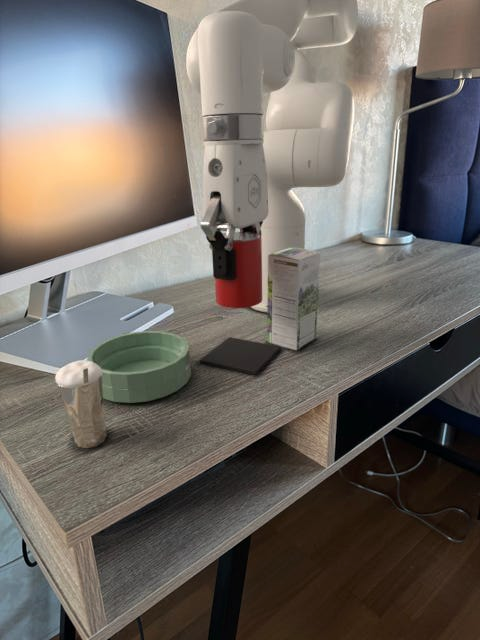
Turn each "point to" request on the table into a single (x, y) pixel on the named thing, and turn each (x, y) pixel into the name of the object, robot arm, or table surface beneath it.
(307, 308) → the syrup box
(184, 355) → the dish
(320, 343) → the table surface
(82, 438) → the milkshake
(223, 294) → the can
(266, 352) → the coaster
